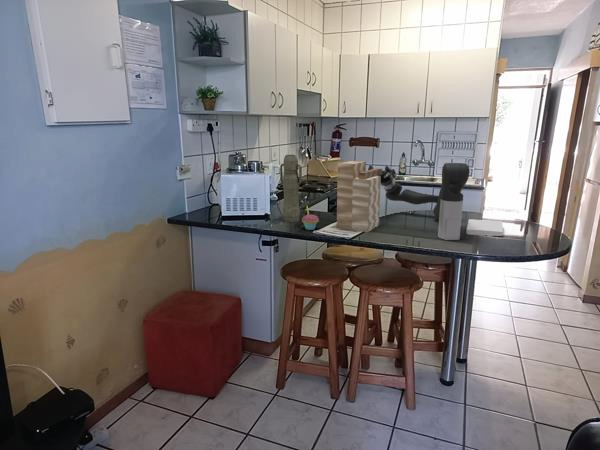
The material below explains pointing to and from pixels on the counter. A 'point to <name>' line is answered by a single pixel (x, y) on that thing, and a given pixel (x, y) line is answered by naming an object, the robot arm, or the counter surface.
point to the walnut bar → (370, 173)
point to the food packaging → (485, 228)
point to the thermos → (291, 188)
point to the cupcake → (310, 221)
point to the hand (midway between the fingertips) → (377, 167)
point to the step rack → (357, 198)
